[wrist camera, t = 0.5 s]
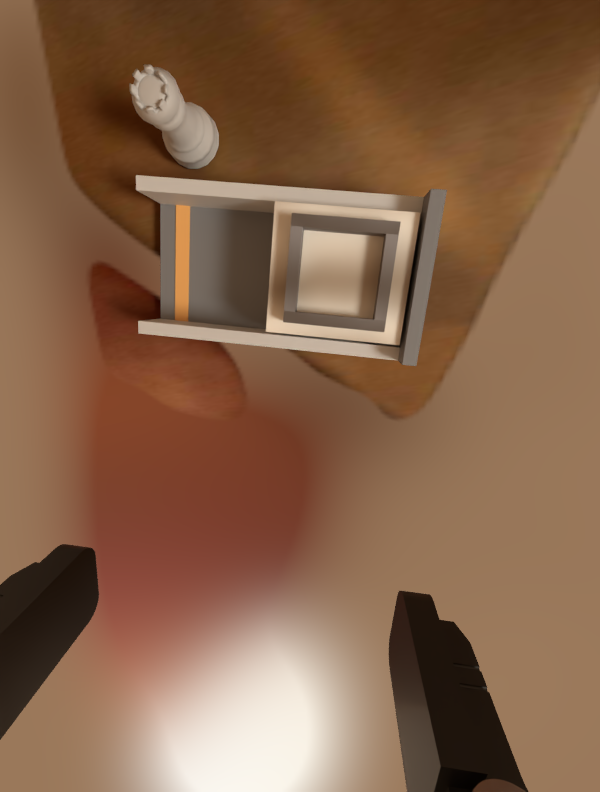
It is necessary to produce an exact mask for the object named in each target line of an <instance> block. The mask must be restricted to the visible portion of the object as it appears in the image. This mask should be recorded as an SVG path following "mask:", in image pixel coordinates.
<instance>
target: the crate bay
mask: <svg viewBox="0 0 600 792" xmlns="http://www.w3.org/2000/svg"><path fill="white" fill-rule="evenodd" d="M136 190H137V191H139V192H140V193H142V194H144V195H146V196H147V197H149V198H151V199H153V200H155V201H156V202H158V203H160V242H161V319H152V320H141V321H138V333H141V334H151V335H160V336H170V337H179V338H189V339H198V340H208V341H217V342H227V343H236V344H247V345H255V346H266V347H275V348H284V349H294V350H303V351H313V352H322V353H332V354H341V355H351V356H360V357H370V358H379V359H389V360H398V361H399V362H400V363H401V364H402V365H411V366H416V365H417V359H418V353H419V347H420V342H421V336H422V330H423V324H424V319H425V313H426V307H427V301H428V296H429V290H430V284H431V278H432V273H433V267H434V261H435V255H436V250H437V244H438V238H439V232H440V227H441V221H442V215H443V209H444V204H445V198H446V192H447V190H441V189H431V190H430V191H429V192H428V193H427V194H426V195H425V197H416V196H403V195H389V194H376V193H363V192H350V191H337V190H324V189H311V188H298V187H284V186H271V185H258V184H245V183H232V182H219V181H206V180H193V179H180V178H166V177H153V176H140V175H136ZM275 201H280V202H292V203H305V204H318V205H330V206H343V207H356V208H368V209H381V210H394V211H406V212H419V213H421V214H420V220H419V226H418V232H417V239H416V245H415V251H414V257H413V264H412V270H411V276H410V282H409V289H408V295H407V301H406V307H405V314H404V320H403V326H402V332H401V339H400V345H392V344H382V343H372V342H363V341H353V340H343V339H333V338H323V337H314V336H304V335H294V334H284V333H275V332H266V322H267V308H268V293H269V279H270V264H271V250H272V235H273V221H274V206H275Z"/></svg>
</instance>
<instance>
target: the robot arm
mask: <svg viewBox="0 0 600 792" xmlns="http://www.w3.org/2000/svg"><path fill="white" fill-rule="evenodd" d="M98 598H99V591H98V579H97V568H96V556H95V551H94V550H93V549H92V548H88V547H81V546H74V545H66V544H62V545H60V546H58V547H57V548H55V549H54V550H53V551H52V552H51V553H50V554H49V555H48V556H47V557H46V558H44V559H43V560H42V561H41V562H40V563H37V562H35V563H33V564H31V565H29V566H28V567H26V568H24V569H22V570H20V571H19V572H17V573H15V574H13V575H11V576H10V577H9V578H8V579H6V580H5V581H4V582H3V583H2V584H1V585H0V739H1V738H2V737H3V736H4V734H5V733H6V731H7V730H8V729H9V727H10V726H11V725H12V724H13V722H14V721H15V720H16V718H17V717H18V715H19V714H20V713H21V712H22V710H23V709H24V707H25V706H26V705H27V704H28V702H29V701H30V700H31V698H32V697H33V696H34V694H35V693H36V692H37V690H38V689H39V688H40V686H41V685H42V684H43V682H44V681H45V680H46V678H47V677H48V676H49V674H50V673H51V672H52V670H53V669H54V668H55V666H56V665H57V664H58V662H59V661H60V660H61V658H62V657H63V656H64V654H65V653H66V652H67V651H68V649H69V648H70V646H71V645H72V644H73V642H74V641H75V640H76V639H77V637H78V636H79V635H80V633H81V632H82V631H83V629H84V628H85V627H86V625H87V624H88V623H89V621H90V620H91V618H92V616H93V614H94V612H95V610H96V607H97V603H98ZM389 666H390V674H391V681H392V688H393V695H394V702H395V709H396V716H397V722H398V729H399V737H400V744H401V751H402V758H403V765H404V772H405V780H406V787H407V792H528V790H527V788H526V786H525V784H524V782H523V779H522V777H521V775H520V772H519V769H518V767H517V764H516V762H515V759H514V756H513V754H512V751H511V749H510V746H509V743H508V741H507V738H506V735H505V733H504V730H503V728H502V725H501V722H500V720H499V717H498V714H497V712H496V710H495V707H494V704H493V701H492V699H491V696H490V693H489V692H487V686H486V683H485V680H484V678H483V675H482V673H481V672H480V670H479V665H478V662H477V660H476V657H475V654H474V652H473V649H472V647H471V644H470V642H469V641H468V639H467V638H466V637H465V636H464V634H463V633H462V632H461V631H460V629H459V628H458V627H457V625H456V624H455V623H454V622H450V621H444V620H439V617H438V614H437V611H436V608H435V605H434V601H433V599H432V597H431V595H429V594H421V593H414V592H405V591H399V592H398V596H397V601H396V606H395V612H394V617H393V623H392V628H391V633H390V639H389Z"/></svg>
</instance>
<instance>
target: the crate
mask: <svg viewBox="0 0 600 792" xmlns="http://www.w3.org/2000/svg"><path fill="white" fill-rule="evenodd" d="M420 214H421V213H419V212H406V211H394V210H381V209H368V208H356V207H343V206H330V205H318V204H305V203H292V202H280V201H275V206H274V221H273V235H272V250H271V264H270V279H269V293H268V308H267V322H266V332H275V333H284V334H294V335H304V336H314V337H323V338H333V339H343V340H353V341H363V342H372V343H382V344H392V345H400V339H401V332H402V326H403V320H404V314H405V307H406V301H407V295H408V289H409V282H410V276H411V270H412V264H413V257H414V251H415V245H416V239H417V232H418V226H419V220H420Z"/></svg>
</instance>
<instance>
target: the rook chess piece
mask: <svg viewBox="0 0 600 792" xmlns="http://www.w3.org/2000/svg"><path fill="white" fill-rule="evenodd" d="M144 69H145V70H143V71H141V72H139V70H138V69H136V70H135V71H134V73H133V74H132V76H133V77H134V78H135V81H134V84H130V83H129V86H130V93H131V94H132V102H133V105H134V107H135V110H136V112H137V113H138V115H139V116H140V117H141V118H142V119H143V120H144V121H146V122H148V123H150V124H152V125H154V126H155V127H156V128H158V129H160V130H162V138H163V140H164V143H165V146H166V148H167V151H168V152H169V153H170V154H171V156H172V157H173V158H174V159H175V160H176V161H177V162H178V164H180V165H182V166H184V167H186V168H188V169H199V168H201V167H203V166H205V165H208V164H209V162H210V161H211V160H212V159H213V158H214V157H215V154H216V152H217V149H218V146H219V133H218V130H217V127H216V124H215V122H214V120H213V119H212V118H211V117H210V116H209V115H208V113H206V111H205V110H204V109H203V108H201V107H199V106H197V105H195V104H193V103H191V102H184V99H183V96H182V94H181V93H180V92H179V88H178V86H177V83H176V80H175V79H174V78H173V77H172V75H171V74H170V73H169V72H168V71H166V70H164V69H162V68H160V67H153V66H152V65H144Z"/></svg>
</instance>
